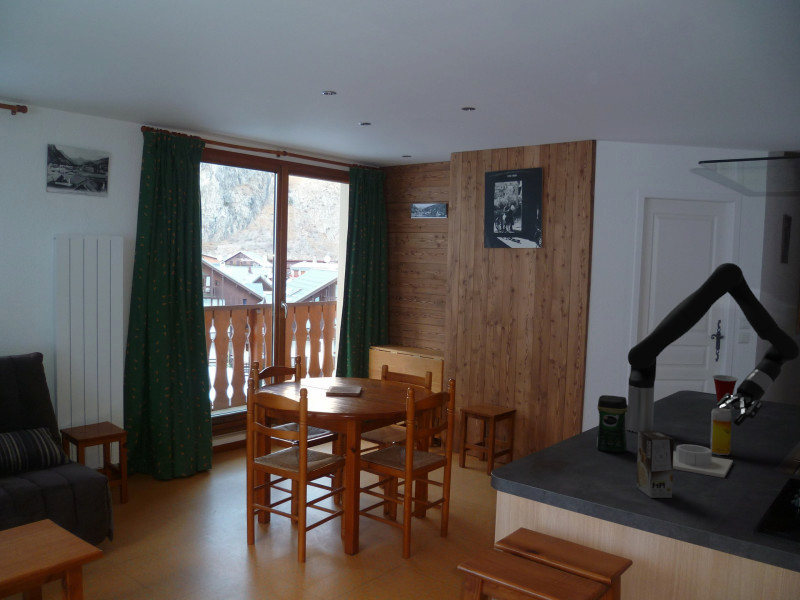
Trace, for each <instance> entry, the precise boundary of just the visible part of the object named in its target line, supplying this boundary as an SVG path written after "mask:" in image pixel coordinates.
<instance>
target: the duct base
mask: <svg viewBox="0 0 800 600" xmlns="http://www.w3.org/2000/svg"><path fill="white" fill-rule="evenodd" d="M675 447H676V449H675V450H674V452H673V470H678V471H682V472H689V473H695V474H700V475H707V476H712V477H717V478H723V479H724V478H725V477H726V475H727V474H728V472H729V471H730V468H732V465H733V464H732V463H733V459H726V458H720V457H716V456H715V457H714V456H713V453H712V450H710V447H705V446H702V445H698V444H697V445H696V444H677V446H675Z"/></svg>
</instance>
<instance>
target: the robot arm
mask: <svg viewBox="0 0 800 600" xmlns="http://www.w3.org/2000/svg"><path fill="white" fill-rule="evenodd" d="M727 293H728V294H729V295H730V297H732V298H733V300H734V301H735V303H736V304H737V305H738V307H739V308H740V311H741V312H742V314H743V315H744V317H745V319H746V320H747V322H748V323H749V325H750V326H751V328H752V329H753V331H754V332H755V333H756V334H757V336H758V337H759V338H760V339H761V340H763V341H767V342H769V344H771V346H769V347H768V349H766V350H765V352H764V355H763V356H762V358H761V360H760V362H759V363H758V364H757V365H756V366H755V368H753V370H752V371H751V372H750V373H749V374H748V375H747V376H746V377H745V378H744V379H743V381H742V382H741V383H740V384H739V385H738V386H737V388H736V393H735V394H733V396H732V395H730V394H729V393H727V394H726V395H725V396H724V397H723V398H722V399H721V400H720V401H719V402H718V401H717V402H718V403H716V405H717V408H725V409H729V410H731V411H734V410H738V411H740V413H738V415H737V416H736V417H735V419H734V420H733V424H734V425H735V426H736V427H739V426H741V425H742V424H743V422H744V421H745V420H746V419H749V418H750V419H754V418H755V416H756V415H757V414H758V412H760V410H761V408H762V407H763V405H762V403H761V402H760V400H762V398H763V397H764V395H765V394H766V393H767V392H768V390H769V389H770V388H771V386H772V385H773V383H774V382H775V381H776V379H777V378H778V377H779V376H780V374H781V372H782V368H781V367H782V366H783V365H784V364H785V363H788V362H791V361H794V360H796V359H797V358H798V357H799V355H800V348H799V346H798V344H797V343H796V341H795V340H794V338H792V336H790V335H789V334H787V332H785V331H784V330H783V329H782V328H781V327H780V326H779V325H778V324H777V321H775V319H774V318H773V317H772V315H771V314H770V312H768V310H767V309H766V308H765V306H764V305H763V304H762V303H761V302H760V300H759V299H758V298H757V297H756V295H755V294H754V293H753V291H752V289H751V288H750V286H749V284H748V282H747V281H746V278H745V276H744V274H743V270H742V268H740V266H739V265H738V264H735V263H731V262H725V263H722V264H719V265H718V266H716V268H715V269H714V271H713V272H712V273H711V274H710V275H709V277H708V278H706V280H705V281H704V282H703V284H701V285H700V287H699V288H697V289H696V290H695V291H694V292H692V293H691V294H690V295H688V296H687V297H686V298H684V299H683V300H682V301H680V303H678V304H677V305H676V306H675V307H674V308H673V309H672V310H671V311H670V312H668V313H667V315H665V317H664V318H663V319H662V320H661V321H660V323H659V324H658V325H657V326H656V327H655V328H654V329H653V330H652V332H651V333H650V334H649V335H648V336H647V337H645V338H643V339H642V340H641V341H640V342H638V343H637V344H635V346H633V347H632V348H630V349H629V351H628V353H627V361H628V362H627V363H628V364H629V365H630V373H629V377H628V388H627V389H628V391H627V392H628V393H627V394H628V395H627V412H626V414H625V431H629V430H630V432H632V431H633V433H636V434H638V431H654V410H655V409H654V404H655V381H656V378H657V377H656V375H657V357H658V356H659V355H660V354H661V353H662V352H663V351H664V350H665V349H666V348H667V347H669V346H670V345H671V344H673V343H675V342H676V341H677V340H679V339H680V338H681V337H683V336H684V335H685V334H687V333H688V332H689V331H690V330H691V329H693V328H694V327H695V325H697V324H698V323H699V322H700V321H701V320H702V319H703V318H704V316H705V315H706V314H707V313H708V312H709V310H710V309H711V307H713V305H714V304H716V302H717V301H718V300H720V298H722V297H723V296H725V295H726V294H727Z"/></svg>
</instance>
